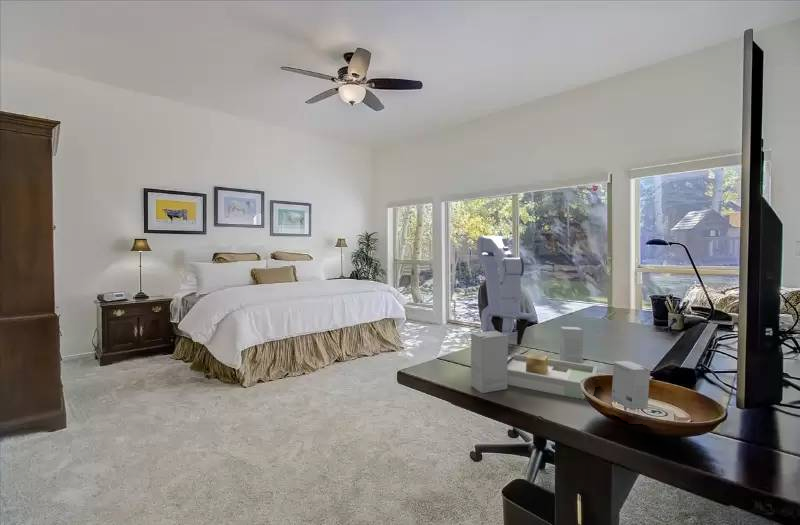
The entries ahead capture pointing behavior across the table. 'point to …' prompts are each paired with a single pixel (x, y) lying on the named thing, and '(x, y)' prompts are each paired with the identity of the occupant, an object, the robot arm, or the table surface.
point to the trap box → (550, 376)
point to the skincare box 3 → (630, 385)
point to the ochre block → (536, 363)
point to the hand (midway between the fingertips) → (509, 342)
